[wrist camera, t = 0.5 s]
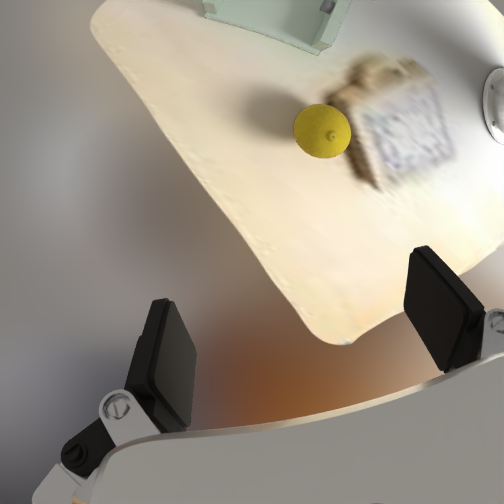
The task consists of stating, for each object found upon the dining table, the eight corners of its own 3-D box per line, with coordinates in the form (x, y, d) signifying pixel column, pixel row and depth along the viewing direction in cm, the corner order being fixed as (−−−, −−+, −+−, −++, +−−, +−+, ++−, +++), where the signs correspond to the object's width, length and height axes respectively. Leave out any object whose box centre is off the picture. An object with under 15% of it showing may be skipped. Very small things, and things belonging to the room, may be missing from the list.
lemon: (280, 113, 30) (293, 119, 23) (325, 96, 29) (350, 98, 22) (298, 157, 33) (315, 175, 26) (342, 140, 32) (369, 154, 25)
